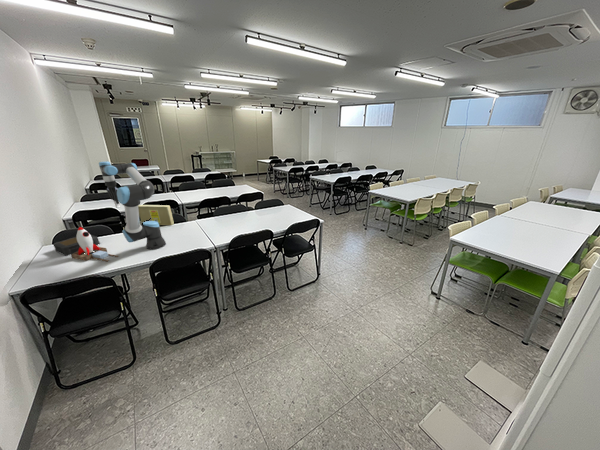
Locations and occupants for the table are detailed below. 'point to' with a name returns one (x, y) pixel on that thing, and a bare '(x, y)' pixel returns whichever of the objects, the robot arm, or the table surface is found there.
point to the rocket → (85, 242)
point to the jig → (88, 257)
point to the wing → (100, 254)
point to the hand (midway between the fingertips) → (118, 207)
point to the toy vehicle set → (156, 214)
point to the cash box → (71, 245)
